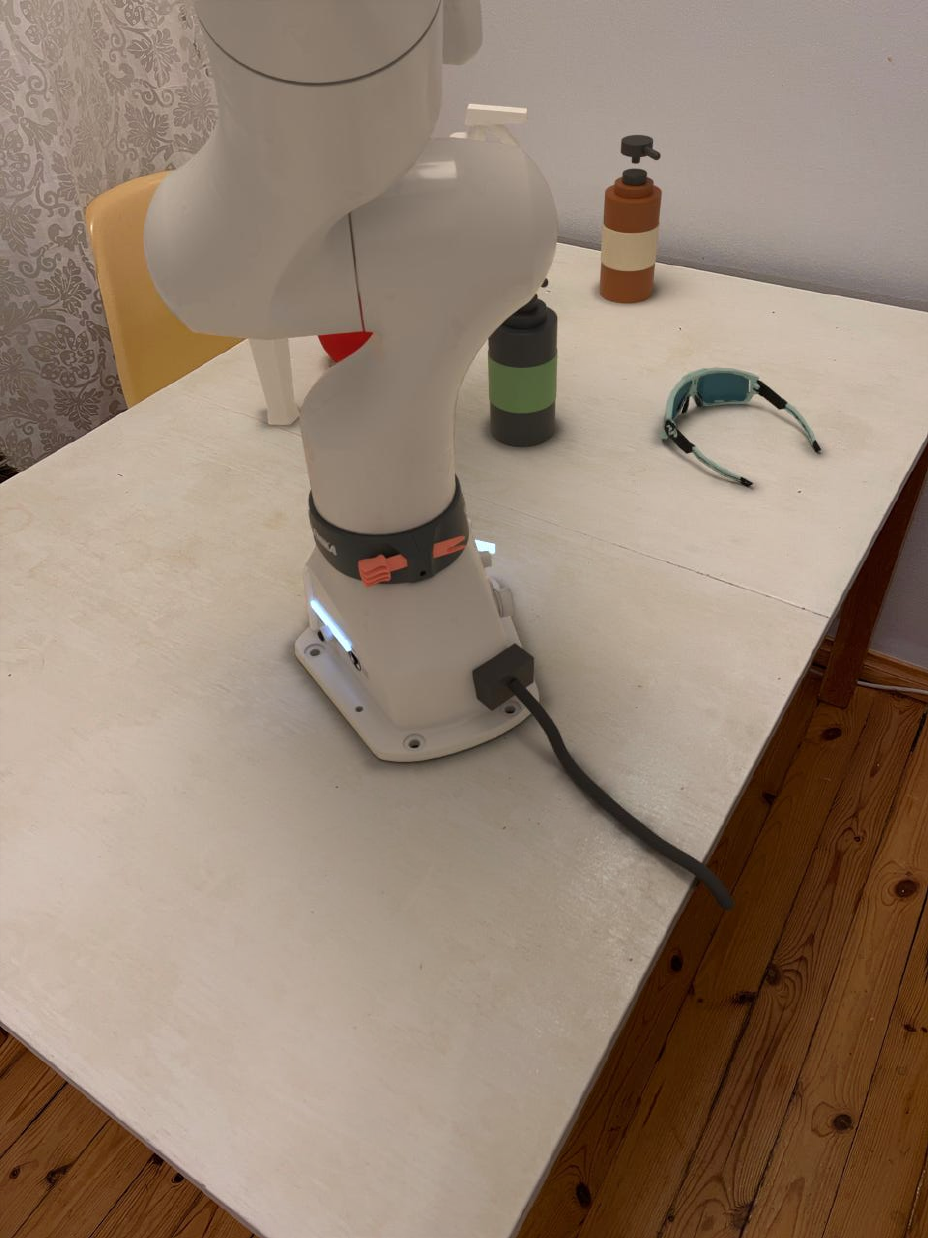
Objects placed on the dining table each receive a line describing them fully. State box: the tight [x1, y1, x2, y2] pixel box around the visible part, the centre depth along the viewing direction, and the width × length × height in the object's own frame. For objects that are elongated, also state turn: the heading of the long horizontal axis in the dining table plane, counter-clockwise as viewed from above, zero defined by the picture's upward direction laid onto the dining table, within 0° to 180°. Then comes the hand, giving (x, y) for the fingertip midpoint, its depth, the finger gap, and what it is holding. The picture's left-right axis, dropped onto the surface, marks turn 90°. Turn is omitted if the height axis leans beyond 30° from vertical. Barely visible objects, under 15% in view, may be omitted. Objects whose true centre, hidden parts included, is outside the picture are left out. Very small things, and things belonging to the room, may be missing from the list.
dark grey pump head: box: [620, 134, 662, 165], centre depth 116 cm, size 7×4×3 cm, turn 23°
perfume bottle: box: [248, 338, 301, 426], centre depth 105 cm, size 5×4×15 cm
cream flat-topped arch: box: [448, 103, 529, 148], centre depth 117 cm, size 7×12×25 cm, turn 81°
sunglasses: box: [660, 366, 822, 488], centre depth 101 cm, size 14×15×5 cm
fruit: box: [316, 313, 374, 364], centre depth 115 cm, size 9×9×10 cm
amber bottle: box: [599, 168, 663, 304], centre depth 124 cm, size 7×7×15 cm
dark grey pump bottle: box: [487, 293, 558, 448], centre depth 100 cm, size 7×7×15 cm
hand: (376, 112), depth 89 cm, fingers closed
